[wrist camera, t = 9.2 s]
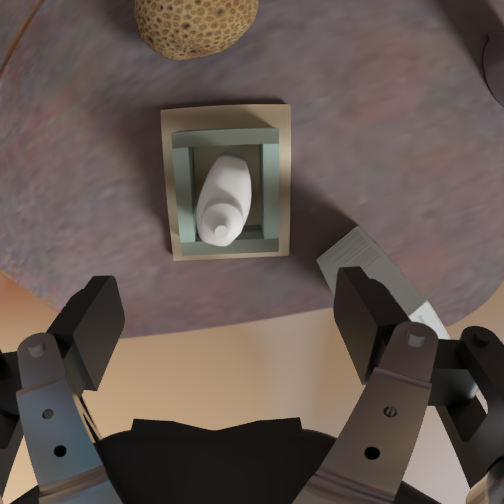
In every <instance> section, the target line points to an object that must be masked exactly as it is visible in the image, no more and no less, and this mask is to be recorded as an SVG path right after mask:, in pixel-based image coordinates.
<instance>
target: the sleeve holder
mask: <svg viewBox="0 0 504 504" xmlns="http://www.w3.org/2000/svg"><path fill="white" fill-rule="evenodd" d="M160 111H161V130H162V147H163V161H164V174H165V185H166V196H167V206H168V216H169V225H170V234H171V242H172V250H173V258H174V261H178V260H202V259H225V258H247V257H269V256H289V242H290V183H291V117H290V104H247V105H219V106H202V107H189V108H178V109H168V110H160ZM222 153H229V154H233V155H237V156H241V157H243V158H244V159H245V161H246V164H247V167H248V170H249V175H250V180H251V204H250V210H249V214H248V217H247V219H246V222H245V224H244V226H243V228H242V232H241V233H240V234H239V235H238V237H236V238H235V239H234V240H233V242H231V243H230V244H229V245H227V246H216V245H212V244H208V243H205V242H204V241H202V240H201V238H200V236H199V233H198V229H197V221H196V213H197V205H198V200H199V196H200V193H201V190H202V188H203V185H204V183H205V180H206V178H207V175H208V173H209V171H210V168H211V167H212V165H213V163H214V162H215V160H216V159H217V158H218V156H219V155H220V154H222Z"/></svg>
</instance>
